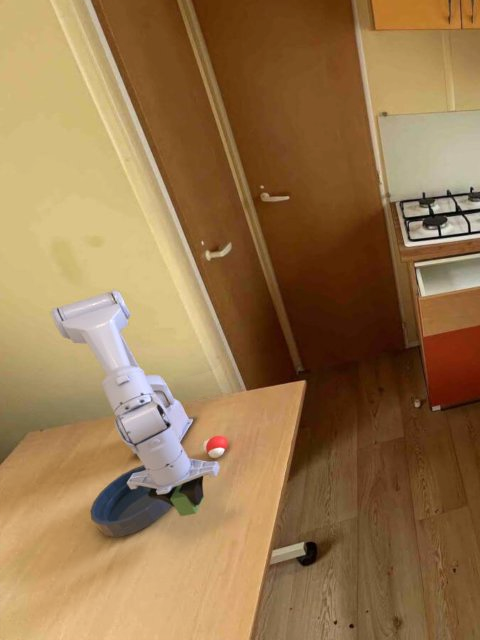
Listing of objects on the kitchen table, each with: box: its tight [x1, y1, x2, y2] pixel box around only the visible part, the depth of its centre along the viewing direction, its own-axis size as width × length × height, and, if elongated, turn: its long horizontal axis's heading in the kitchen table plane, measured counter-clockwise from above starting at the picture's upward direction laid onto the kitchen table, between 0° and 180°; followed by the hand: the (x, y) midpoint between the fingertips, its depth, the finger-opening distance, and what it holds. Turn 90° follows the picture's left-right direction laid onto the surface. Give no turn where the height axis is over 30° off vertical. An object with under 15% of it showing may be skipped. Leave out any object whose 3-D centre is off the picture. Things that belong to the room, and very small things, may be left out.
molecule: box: [202, 435, 229, 459], centre depth 98 cm, size 5×5×4 cm
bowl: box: [89, 464, 172, 538], centre depth 87 cm, size 13×13×4 cm
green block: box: [170, 484, 205, 517], centre depth 83 cm, size 4×3×6 cm
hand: (190, 501), depth 83 cm, fingers closed on green block, 3 cm apart
